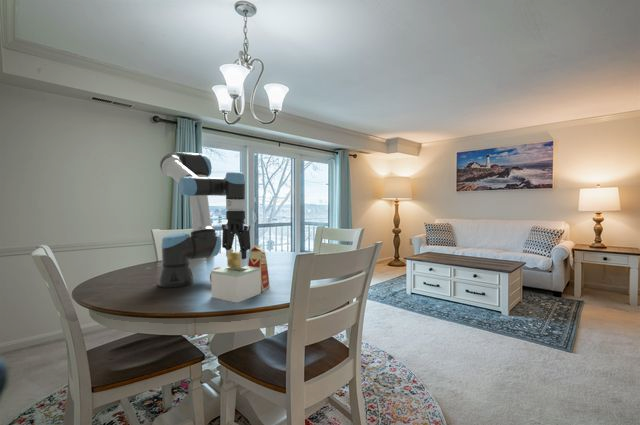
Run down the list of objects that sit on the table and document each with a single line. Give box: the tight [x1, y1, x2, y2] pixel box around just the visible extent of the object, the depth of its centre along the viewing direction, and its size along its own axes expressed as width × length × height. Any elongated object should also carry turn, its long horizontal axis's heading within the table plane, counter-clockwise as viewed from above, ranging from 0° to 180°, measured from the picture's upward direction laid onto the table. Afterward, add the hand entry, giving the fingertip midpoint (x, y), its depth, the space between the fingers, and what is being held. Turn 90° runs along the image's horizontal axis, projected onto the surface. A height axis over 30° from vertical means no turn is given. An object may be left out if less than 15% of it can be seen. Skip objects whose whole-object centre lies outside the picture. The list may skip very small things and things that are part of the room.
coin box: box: [210, 265, 262, 303], centre depth 138 cm, size 14×14×11 cm
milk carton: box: [247, 244, 271, 292], centre depth 149 cm, size 9×9×20 cm
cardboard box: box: [227, 250, 242, 268], centre depth 137 cm, size 6×3×6 cm, turn 61°
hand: (236, 265), depth 138 cm, fingers closed on cardboard box, 6 cm apart
